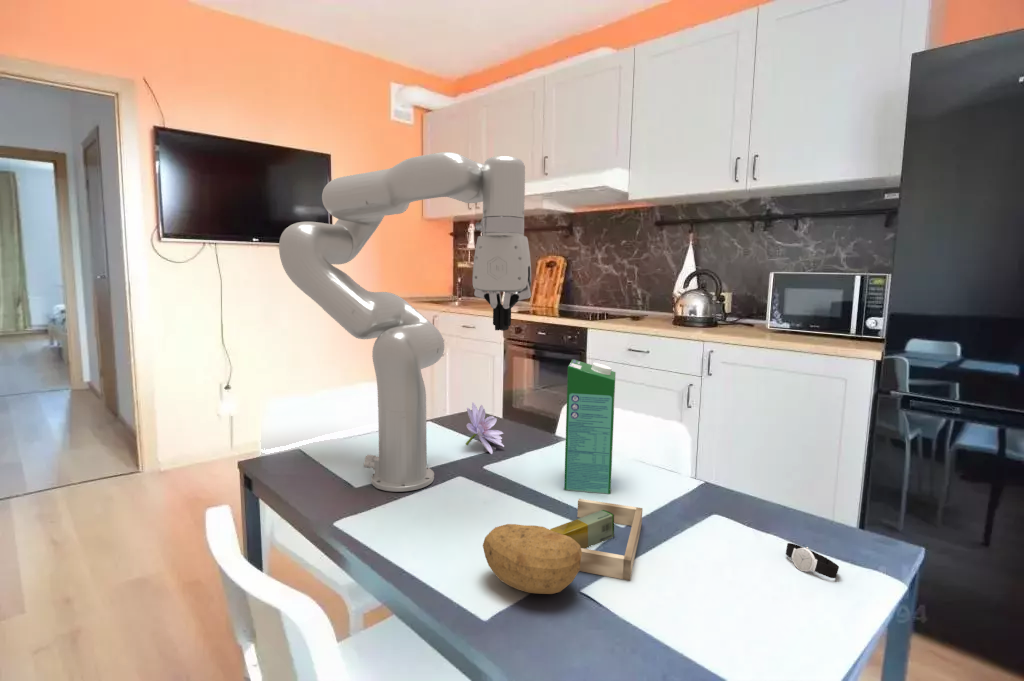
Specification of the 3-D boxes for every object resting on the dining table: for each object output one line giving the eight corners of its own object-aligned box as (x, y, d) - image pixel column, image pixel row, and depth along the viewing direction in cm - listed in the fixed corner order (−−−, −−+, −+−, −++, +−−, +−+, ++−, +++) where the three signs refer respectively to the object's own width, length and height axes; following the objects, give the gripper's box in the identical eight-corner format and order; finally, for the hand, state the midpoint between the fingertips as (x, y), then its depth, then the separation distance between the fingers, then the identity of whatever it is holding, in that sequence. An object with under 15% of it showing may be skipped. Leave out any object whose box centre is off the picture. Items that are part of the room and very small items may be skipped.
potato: (501, 556, 82) (502, 506, 80) (590, 581, 75) (592, 527, 74) (467, 590, 73) (468, 534, 72) (565, 621, 67) (567, 560, 66)
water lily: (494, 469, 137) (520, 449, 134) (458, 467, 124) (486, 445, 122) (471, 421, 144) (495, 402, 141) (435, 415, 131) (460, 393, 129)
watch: (777, 559, 83) (779, 536, 82) (798, 553, 84) (800, 531, 84) (824, 586, 76) (826, 561, 75) (846, 578, 78) (848, 554, 77)
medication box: (603, 531, 91) (603, 508, 90) (615, 537, 88) (615, 513, 88) (548, 552, 83) (548, 527, 83) (560, 559, 81) (560, 534, 81)
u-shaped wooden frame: (553, 566, 79) (554, 546, 79) (578, 514, 96) (579, 498, 96) (629, 580, 76) (630, 560, 75) (641, 524, 93) (642, 508, 92)
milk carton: (610, 494, 105) (615, 368, 102) (564, 489, 107) (567, 365, 104) (611, 477, 114) (616, 360, 111) (568, 473, 116) (572, 358, 113)
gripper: (456, 227, 96) (456, 329, 99) (537, 226, 92) (535, 334, 94) (473, 230, 103) (472, 326, 106) (548, 230, 99) (546, 329, 101)
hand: (501, 329), depth 100 cm, fingers closed
